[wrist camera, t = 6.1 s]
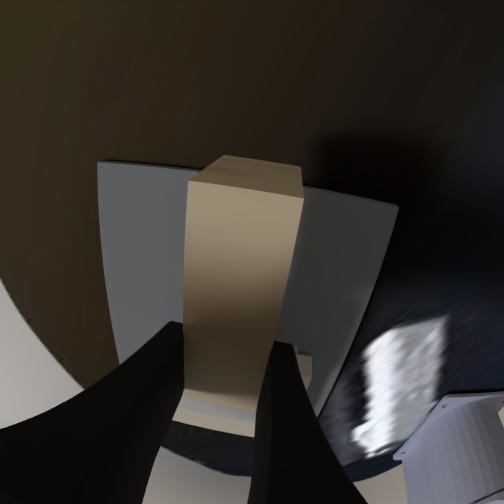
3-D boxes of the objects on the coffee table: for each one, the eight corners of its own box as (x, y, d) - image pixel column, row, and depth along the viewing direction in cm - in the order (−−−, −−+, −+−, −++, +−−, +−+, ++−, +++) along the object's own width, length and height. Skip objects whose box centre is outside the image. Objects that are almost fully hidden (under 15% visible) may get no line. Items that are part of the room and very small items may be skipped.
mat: (306, 433, 21) (306, 437, 21) (130, 396, 22) (128, 400, 22) (396, 204, 13) (399, 207, 13) (101, 160, 14) (97, 162, 14)
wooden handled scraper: (275, 413, 15) (269, 473, 12) (180, 395, 15) (159, 450, 12) (341, 174, 9) (365, 210, 6) (184, 150, 10) (133, 174, 7)
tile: (311, 353, 17) (286, 420, 20) (171, 327, 17) (175, 399, 20) (311, 377, 15) (284, 441, 18) (160, 348, 16) (167, 418, 19)
